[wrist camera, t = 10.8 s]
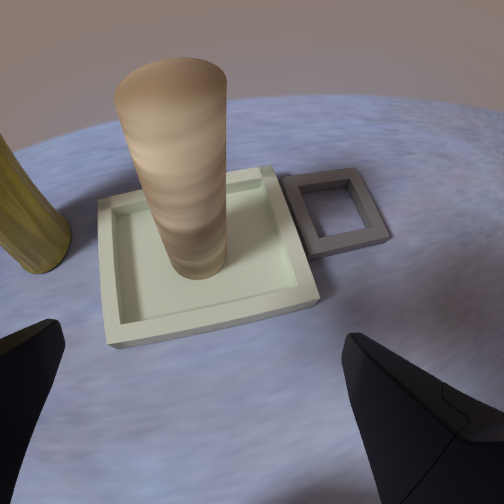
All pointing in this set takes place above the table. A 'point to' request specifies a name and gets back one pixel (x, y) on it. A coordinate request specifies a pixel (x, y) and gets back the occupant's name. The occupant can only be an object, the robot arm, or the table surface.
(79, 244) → the table surface
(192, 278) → the dowel
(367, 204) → the holder
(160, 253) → the tray
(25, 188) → the vase
